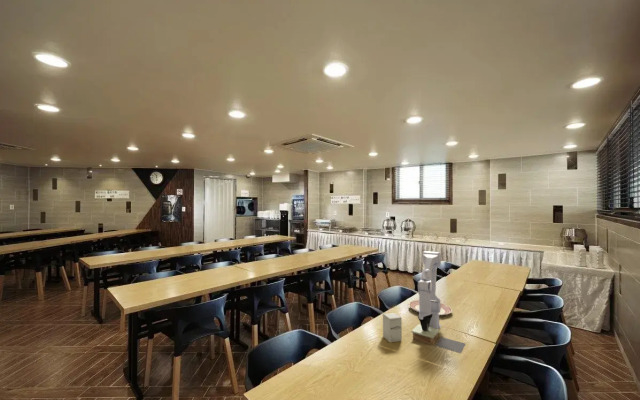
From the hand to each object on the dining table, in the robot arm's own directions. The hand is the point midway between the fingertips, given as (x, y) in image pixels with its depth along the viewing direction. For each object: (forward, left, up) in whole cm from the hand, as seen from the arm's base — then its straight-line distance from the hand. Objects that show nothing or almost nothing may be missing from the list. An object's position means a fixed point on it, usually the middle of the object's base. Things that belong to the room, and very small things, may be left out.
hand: (425, 328), depth 146 cm
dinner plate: (-44, -11, -6) cm, 46 cm away
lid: (0, 0, -1) cm, 1 cm away
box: (0, 0, -5) cm, 5 cm away
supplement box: (+11, -14, -6) cm, 19 cm away
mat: (-1, +12, -5) cm, 13 cm away
